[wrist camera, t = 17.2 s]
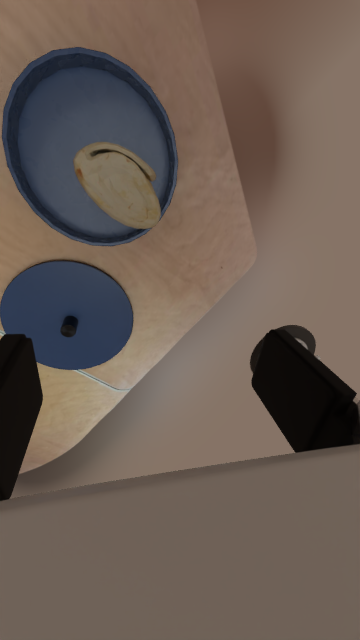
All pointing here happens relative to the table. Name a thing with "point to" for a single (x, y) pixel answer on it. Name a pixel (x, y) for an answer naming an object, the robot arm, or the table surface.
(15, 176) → the pot
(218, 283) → the table surface
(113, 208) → the food model
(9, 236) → the table surface
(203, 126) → the table surface
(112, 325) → the pot lid
